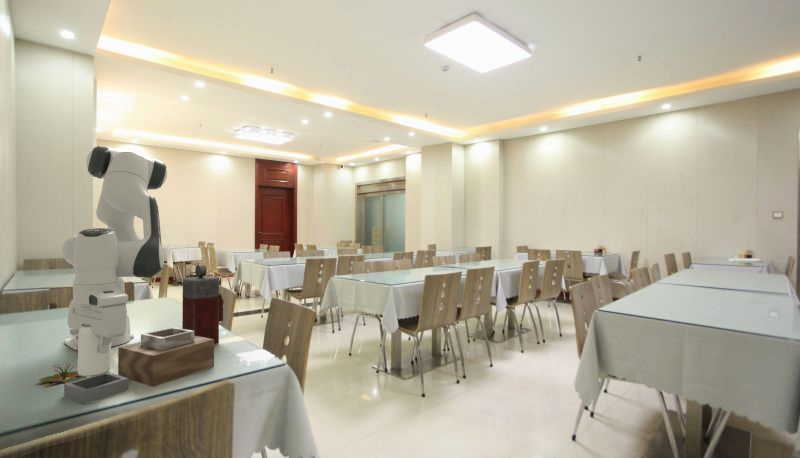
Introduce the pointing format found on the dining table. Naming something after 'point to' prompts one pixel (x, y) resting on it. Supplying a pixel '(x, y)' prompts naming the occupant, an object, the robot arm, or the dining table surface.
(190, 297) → the red mill shaker
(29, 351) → the dining table surface
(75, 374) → the leafy plant
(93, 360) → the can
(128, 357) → the socket pedestal
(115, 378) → the collar
